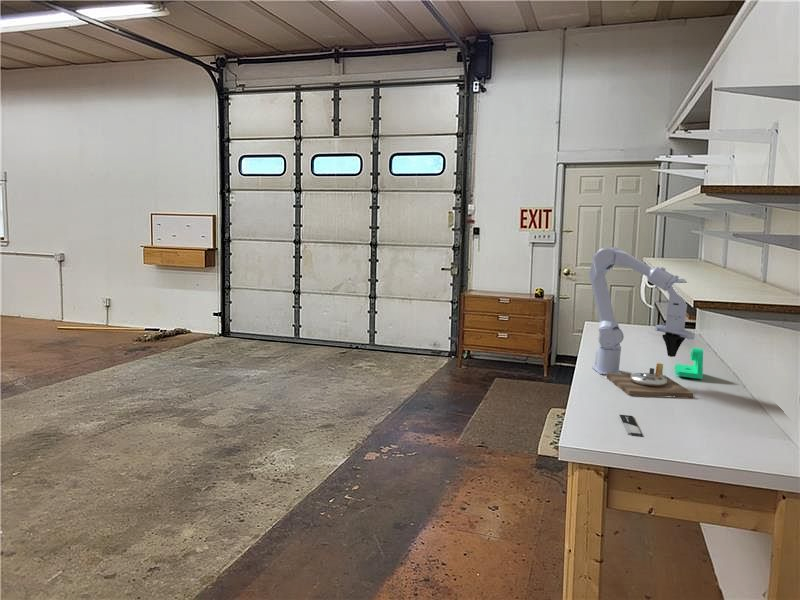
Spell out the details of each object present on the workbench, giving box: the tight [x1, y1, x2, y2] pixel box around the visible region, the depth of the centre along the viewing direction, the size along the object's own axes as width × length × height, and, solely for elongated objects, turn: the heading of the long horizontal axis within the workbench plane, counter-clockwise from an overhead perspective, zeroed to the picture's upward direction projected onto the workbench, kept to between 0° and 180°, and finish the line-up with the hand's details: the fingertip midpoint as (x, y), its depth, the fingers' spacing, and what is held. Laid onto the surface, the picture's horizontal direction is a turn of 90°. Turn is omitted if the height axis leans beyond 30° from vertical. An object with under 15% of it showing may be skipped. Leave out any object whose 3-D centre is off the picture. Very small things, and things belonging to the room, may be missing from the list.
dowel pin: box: [648, 367, 655, 374], centre depth 199 cm, size 1×1×3 cm
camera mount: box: [674, 347, 704, 380], centre depth 210 cm, size 12×8×10 cm, turn 160°
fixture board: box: [605, 373, 694, 399], centre depth 194 cm, size 20×20×2 cm
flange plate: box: [630, 362, 667, 386], centre depth 195 cm, size 15×11×5 cm
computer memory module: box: [619, 414, 645, 438], centre depth 157 cm, size 15×1×4 cm
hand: (671, 356), depth 198 cm, fingers closed
